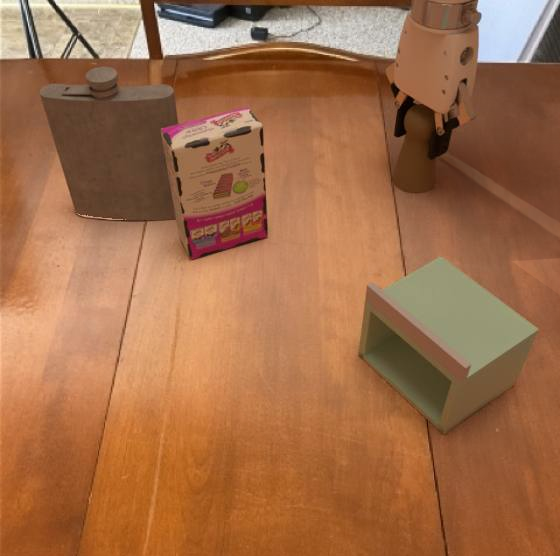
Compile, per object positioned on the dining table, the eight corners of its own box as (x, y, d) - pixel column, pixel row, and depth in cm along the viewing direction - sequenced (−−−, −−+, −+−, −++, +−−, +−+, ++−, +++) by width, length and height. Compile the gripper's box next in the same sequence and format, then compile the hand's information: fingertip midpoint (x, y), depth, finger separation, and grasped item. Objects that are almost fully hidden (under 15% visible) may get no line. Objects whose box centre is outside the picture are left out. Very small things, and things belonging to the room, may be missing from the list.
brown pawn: (439, 191, 96) (454, 120, 87) (397, 194, 96) (407, 123, 87) (429, 166, 100) (443, 96, 91) (389, 168, 99) (398, 98, 91)
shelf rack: (427, 312, 81) (444, 241, 73) (515, 384, 74) (545, 315, 66) (357, 355, 77) (366, 284, 69) (443, 435, 70) (465, 368, 62)
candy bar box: (254, 216, 93) (249, 104, 80) (269, 237, 90) (266, 125, 77) (176, 238, 90) (158, 126, 77) (189, 261, 87) (172, 148, 74)
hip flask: (191, 204, 95) (172, 63, 79) (188, 223, 92) (168, 81, 76) (78, 202, 95) (37, 62, 79) (71, 221, 92) (28, 80, 77)
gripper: (522, 25, 76) (485, 164, 90) (415, -25, 85) (397, 108, 99) (476, 44, 73) (445, 184, 87) (370, -10, 82) (358, 126, 96)
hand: (420, 143), depth 93 cm, fingers open, 5 cm apart
